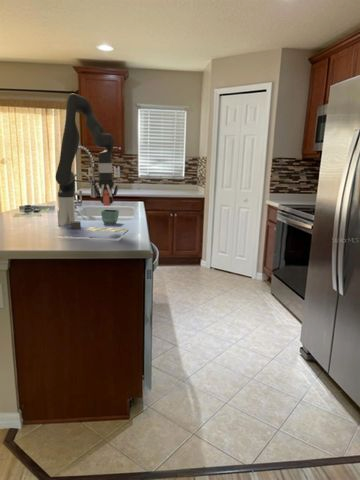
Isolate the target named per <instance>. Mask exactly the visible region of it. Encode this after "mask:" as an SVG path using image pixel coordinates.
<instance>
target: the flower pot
mask: <svg viewBox="0 0 360 480" xmlns="http://www.w3.org/2000/svg"><path fill="white" fill-rule="evenodd" d="M100 212H101V219H102V223H103V224H104V225H115V224H117V222H118V219H119V212H120V211H119V209H104V210H102V211H100Z"/></svg>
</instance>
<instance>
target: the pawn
mask: <svg viewBox="0 0 360 480" xmlns="http://www.w3.org/2000/svg"><path fill="white" fill-rule="evenodd" d="M102 205H103V206H104V207H105V206H107V207H108V206H111V205H112V204H110V194H109V192H108V190H104V191H103V204H102Z"/></svg>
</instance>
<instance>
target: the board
mask: <svg viewBox="0 0 360 480" xmlns="http://www.w3.org/2000/svg"><path fill="white" fill-rule="evenodd" d="M86 231H91V232H92V231H95V232H115V233H117V232H119V233H123V232H124V233H123V235H125V234H126V233H127V232H129V229H127V228H115V227H112V228H111V227H94V226H93V227H91V226H90V227H88V228H87V229H86Z"/></svg>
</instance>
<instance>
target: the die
mask: <svg viewBox="0 0 360 480" xmlns="http://www.w3.org/2000/svg"><path fill="white" fill-rule="evenodd" d="M70 228H71V230H81V228H82V227H81V220H75V221H71V224H70Z"/></svg>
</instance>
